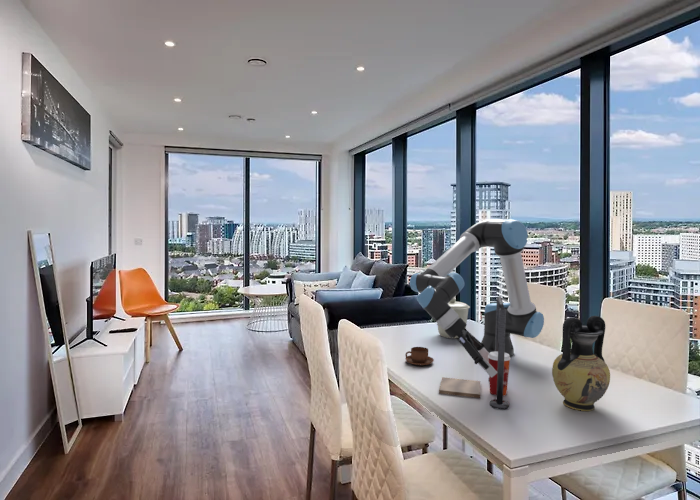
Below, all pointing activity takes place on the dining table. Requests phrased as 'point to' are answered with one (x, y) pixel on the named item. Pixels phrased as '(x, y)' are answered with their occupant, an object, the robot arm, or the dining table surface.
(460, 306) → the canister
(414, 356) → the cup and saucer
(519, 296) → the robot arm
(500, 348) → the frame
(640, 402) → the dining table surface
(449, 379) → the walnut board
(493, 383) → the paper cup
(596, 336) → the amphora
